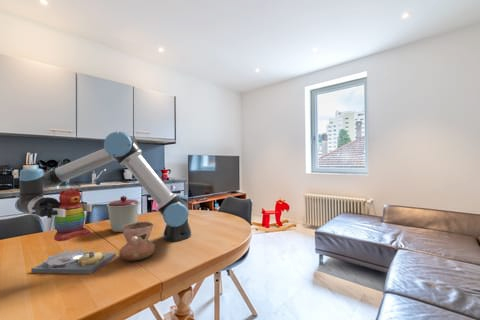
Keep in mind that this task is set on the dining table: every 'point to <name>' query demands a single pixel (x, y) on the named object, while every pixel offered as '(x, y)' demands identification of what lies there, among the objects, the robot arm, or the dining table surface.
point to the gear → (64, 258)
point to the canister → (122, 213)
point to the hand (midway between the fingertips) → (78, 210)
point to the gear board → (79, 264)
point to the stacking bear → (70, 217)
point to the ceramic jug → (137, 241)
